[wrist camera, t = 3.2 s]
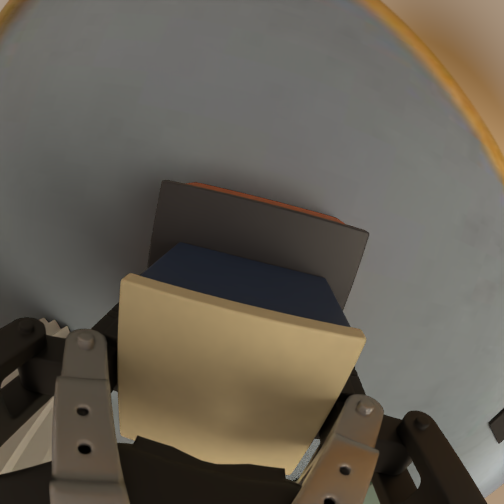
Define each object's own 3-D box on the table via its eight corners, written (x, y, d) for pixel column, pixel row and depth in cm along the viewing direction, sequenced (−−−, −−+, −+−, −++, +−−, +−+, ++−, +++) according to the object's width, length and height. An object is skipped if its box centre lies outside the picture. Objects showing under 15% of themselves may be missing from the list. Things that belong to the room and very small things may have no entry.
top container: (176, 236, 12) (119, 279, 7) (331, 275, 12) (368, 339, 7) (158, 362, 13) (119, 435, 8) (286, 393, 13) (290, 475, 9)
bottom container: (192, 177, 16) (161, 179, 11) (341, 215, 16) (370, 233, 11) (164, 339, 19) (137, 385, 14) (288, 369, 19) (293, 422, 14)
